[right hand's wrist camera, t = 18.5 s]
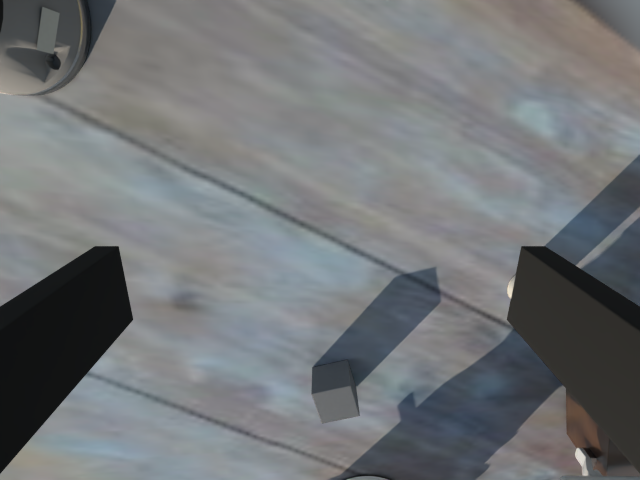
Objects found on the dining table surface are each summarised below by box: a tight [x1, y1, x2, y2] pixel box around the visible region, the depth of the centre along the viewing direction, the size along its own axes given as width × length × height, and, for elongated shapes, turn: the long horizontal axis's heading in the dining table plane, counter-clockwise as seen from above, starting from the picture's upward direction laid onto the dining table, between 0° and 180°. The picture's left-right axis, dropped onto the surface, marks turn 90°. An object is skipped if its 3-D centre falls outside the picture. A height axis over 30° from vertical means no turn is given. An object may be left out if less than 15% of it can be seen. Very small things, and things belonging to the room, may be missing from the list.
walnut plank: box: [566, 389, 640, 476], centre depth 46 cm, size 24×5×8 cm, turn 19°
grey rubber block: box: [312, 360, 360, 424], centre depth 49 cm, size 5×5×5 cm
